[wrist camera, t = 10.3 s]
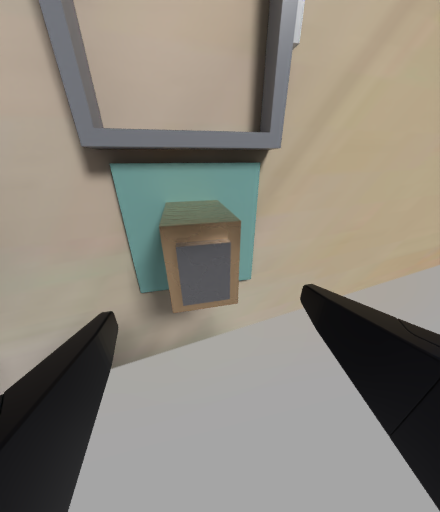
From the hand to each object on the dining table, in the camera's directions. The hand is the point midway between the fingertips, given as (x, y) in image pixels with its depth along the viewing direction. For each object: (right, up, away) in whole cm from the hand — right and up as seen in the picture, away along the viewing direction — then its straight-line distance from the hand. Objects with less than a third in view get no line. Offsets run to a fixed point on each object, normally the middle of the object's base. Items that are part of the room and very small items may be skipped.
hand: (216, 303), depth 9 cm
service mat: (-2, +5, +9) cm, 11 cm away
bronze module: (-2, +4, +9) cm, 10 cm away
